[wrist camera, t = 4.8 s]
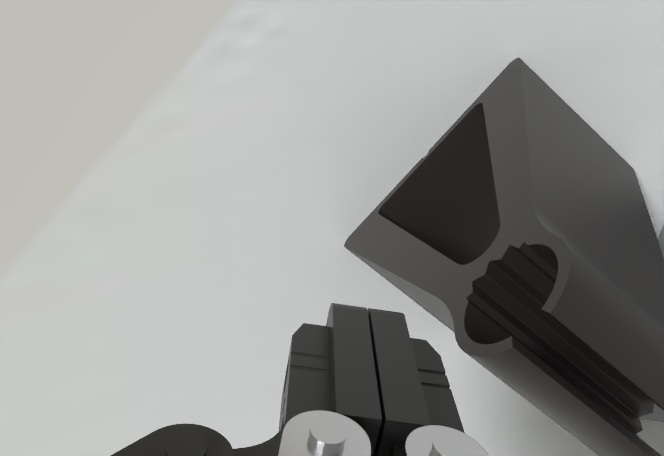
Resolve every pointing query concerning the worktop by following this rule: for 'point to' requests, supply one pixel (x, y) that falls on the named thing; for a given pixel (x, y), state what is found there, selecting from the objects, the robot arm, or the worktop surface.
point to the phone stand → (534, 259)
